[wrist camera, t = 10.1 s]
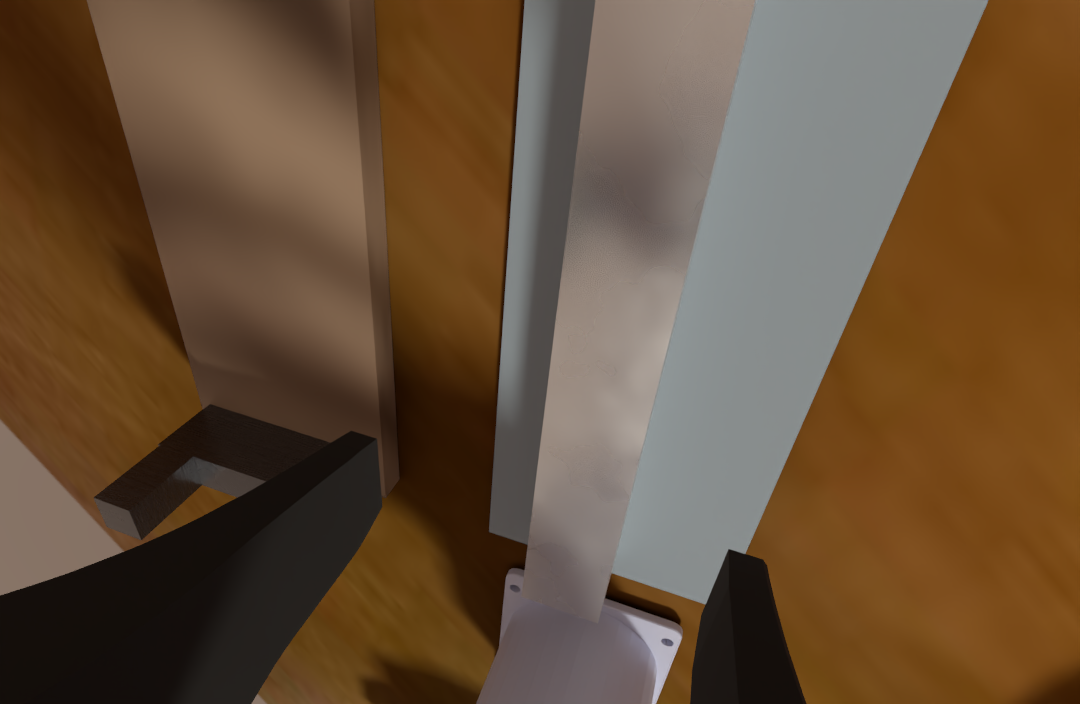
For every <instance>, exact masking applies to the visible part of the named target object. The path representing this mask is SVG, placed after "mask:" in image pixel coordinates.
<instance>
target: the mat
mask: <svg viewBox="0 0 1080 704" xmlns="http://www.w3.org/2000/svg"><path fill="white" fill-rule="evenodd" d="M987 2H988V0H758V1H757V5H756V9H755V13H754V17H753V21H752V25H751V29H750V32H749V36H748V40H747V44H746V48H745V52H744V56H743V60H742V64H741V68H740V72H739V76H738V80H737V84H736V88H735V91H734V95H733V99H732V103H731V107H730V111H729V115H728V119H727V123H726V127H725V131H724V135H723V139H722V143H721V146H720V150H719V154H718V158H717V162H716V166H715V170H714V174H713V178H712V182H711V186H710V190H709V194H708V198H707V201H706V205H705V209H704V213H703V217H702V221H701V225H700V229H699V233H698V237H697V241H696V245H695V249H694V253H693V257H692V260H691V264H690V268H689V272H688V276H687V280H686V284H685V288H684V292H683V296H682V300H681V304H680V308H679V312H678V315H677V319H676V323H675V327H674V331H673V335H672V339H671V343H670V347H669V351H668V355H667V359H666V363H665V367H664V370H663V374H662V378H661V382H660V386H659V390H658V394H657V398H656V402H655V406H654V410H653V414H652V418H651V422H650V426H649V429H648V433H647V437H646V441H645V445H644V449H643V453H642V457H641V461H640V465H639V469H638V473H637V477H636V481H635V484H634V488H633V492H632V496H631V500H630V504H629V508H628V512H627V516H626V520H625V524H624V528H623V532H622V536H621V539H620V543H619V547H618V551H617V555H616V559H615V563H614V566H613V570H612V573H613V574H616V575H619V576H622V577H625V578H628V579H631V580H634V581H637V582H640V583H643V584H646V585H649V586H652V587H655V588H658V589H661V590H664V591H667V592H670V593H673V594H676V595H679V596H682V597H685V598H688V599H691V600H694V601H697V602H700V603H703V604H706V603H707V600H708V598H709V595H710V593H711V590H712V588H713V586H714V583H715V581H716V578H717V576H718V573H719V571H720V569H721V566H722V564H723V561H724V559H725V556H726V554H727V552H728V549H731V550H734V551H737V552H740V553H743V554H745V553H746V551H747V549H748V546H749V544H750V542H751V539H752V537H753V535H754V533H755V530H756V528H757V526H758V524H759V521H760V519H761V517H762V514H763V512H764V510H765V508H766V505H767V503H768V501H769V498H770V496H771V494H772V492H773V489H774V487H775V485H776V483H777V480H778V478H779V476H780V473H781V471H782V469H783V467H784V464H785V462H786V460H787V458H788V455H789V453H790V451H791V448H792V446H793V444H794V442H795V439H796V437H797V435H798V432H799V430H800V428H801V426H802V423H803V421H804V419H805V417H806V414H807V412H808V410H809V407H810V405H811V403H812V401H813V398H814V396H815V394H816V392H817V389H818V387H819V385H820V382H821V380H822V378H823V376H824V373H825V371H826V369H827V366H828V364H829V362H830V360H831V357H832V355H833V353H834V351H835V348H836V346H837V344H838V341H839V339H840V337H841V335H842V332H843V330H844V328H845V326H846V323H847V321H848V319H849V316H850V314H851V312H852V310H853V307H854V305H855V303H856V300H857V298H858V296H859V294H860V291H861V289H862V287H863V285H864V282H865V280H866V278H867V275H868V273H869V271H870V269H871V266H872V264H873V262H874V260H875V257H876V255H877V253H878V250H879V248H880V246H881V244H882V241H883V239H884V237H885V234H886V232H887V230H888V228H889V225H890V223H891V221H892V219H893V216H894V214H895V212H896V209H897V207H898V205H899V203H900V200H901V198H902V196H903V194H904V191H905V189H906V187H907V184H908V182H909V180H910V178H911V175H912V173H913V171H914V168H915V166H916V164H917V162H918V159H919V157H920V155H921V153H922V150H923V148H924V146H925V143H926V141H927V139H928V137H929V134H930V132H931V130H932V128H933V125H934V123H935V121H936V118H937V116H938V114H939V112H940V109H941V107H942V105H943V102H944V100H945V98H946V96H947V93H948V91H949V89H950V87H951V84H952V82H953V80H954V77H955V75H956V73H957V71H958V68H959V66H960V64H961V62H962V59H963V57H964V55H965V52H966V50H967V48H968V46H969V43H970V41H971V39H972V36H973V34H974V32H975V30H976V27H977V25H978V23H979V21H980V18H981V16H982V14H983V11H984V9H985V7H986V5H987ZM594 8H595V0H525V3H524V17H523V32H522V47H521V62H520V77H519V92H518V107H517V121H516V136H515V151H514V166H513V181H512V196H511V211H510V225H509V240H508V255H507V270H506V285H505V300H504V315H503V329H502V344H501V359H500V374H499V389H498V404H497V419H496V433H495V448H494V463H493V478H492V493H491V508H490V523H489V532H491V533H494V534H497V535H500V536H503V537H506V538H509V539H512V540H515V541H518V542H521V543H524V544H527V545H528V539H529V531H530V523H531V515H532V507H533V499H534V491H535V483H536V475H537V467H538V459H539V451H540V443H541V435H542V427H543V419H544V411H545V403H546V395H547V386H548V378H549V370H550V362H551V354H552V346H553V338H554V330H555V322H556V314H557V306H558V298H559V290H560V282H561V274H562V266H563V258H564V250H565V242H566V234H567V226H568V218H569V209H570V201H571V193H572V185H573V177H574V169H575V161H576V153H577V145H578V137H579V129H580V121H581V113H582V105H583V97H584V89H585V81H586V73H587V65H588V57H589V49H590V41H591V33H592V24H593V16H594Z"/></svg>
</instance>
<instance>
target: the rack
mask: <svg viewBox="0 0 1080 704" xmlns="http://www.w3.org/2000/svg"><path fill="white" fill-rule="evenodd" d="M87 3H88V7H89V10H90V14H91V17H92V21H93V24H94V28H95V31H96V35H97V38H98V42H99V45H100V49H101V52H102V56H103V60H104V63H105V67H106V70H107V74H108V77H109V81H110V84H111V88H112V91H113V95H114V98H115V102H116V105H117V109H118V112H119V116H120V119H121V123H122V126H123V130H124V133H125V137H126V140H127V144H128V148H129V151H130V155H131V158H132V162H133V165H134V169H135V172H136V176H137V179H138V183H139V186H140V190H141V193H142V197H143V200H144V204H145V207H146V211H147V214H148V218H149V221H150V225H151V228H152V232H153V236H154V239H155V243H156V246H157V250H158V253H159V257H160V260H161V264H162V267H163V271H164V274H165V278H166V281H167V285H168V288H169V292H170V295H171V299H172V302H173V306H174V309H175V313H176V316H177V320H178V324H179V327H180V331H181V334H182V338H183V341H184V345H185V348H186V352H187V355H188V359H189V362H190V366H191V369H192V373H193V376H194V380H195V383H196V387H197V390H198V394H199V397H200V401H201V404H202V408H203V410H202V411H200V412H199V413H198V414H196V415H195V416H194V417H193V418H191V419H190V420H189V421H188V422H186V423H185V424H184V425H182V426H181V427H180V428H179V429H177V430H176V431H175V432H174V433H172V434H171V435H170V436H168V437H167V438H166V439H165V440H163V441H162V442H161V443H159V444H158V445H159V447H157V448H156V449H155V450H154V451H152V452H151V453H150V454H148V455H147V456H146V457H145V458H143V459H142V460H141V461H140V462H138V463H137V464H136V465H134V466H133V467H132V468H131V469H129V470H128V471H127V472H126V473H124V474H123V475H122V476H121V477H119V478H118V479H117V480H115V481H114V482H113V483H112V484H110V485H109V486H108V487H107V488H105V489H104V490H103V491H101V492H100V493H99V494H98V495H96V496H95V497H94V500H95V502H96V504H97V506H98V508H99V511H100V513H101V515H102V517H103V519H104V521H105V524H106V526H107V527H109V528H111V529H114V530H116V531H119V532H122V533H124V534H127V535H129V536H132V537H134V538H137V539H140V540H142V539H143V538H144V537H145V536H147V535H148V534H149V533H150V532H151V531H152V530H153V529H154V528H155V527H156V526H157V525H159V524H160V523H161V522H162V521H163V520H164V519H165V518H166V517H167V516H168V515H170V514H171V513H172V512H173V511H174V510H175V509H176V508H177V507H178V506H179V505H180V504H182V503H183V502H184V501H185V500H186V499H187V498H188V497H189V496H190V495H191V494H193V493H194V492H195V491H196V490H197V489H198V488H199V487H200V486H201V485H204V486H207V487H210V488H213V489H215V490H218V491H221V492H224V493H227V494H229V495H232V496H235V497H240V496H242V495H243V494H245V493H247V492H249V491H251V490H252V489H254V488H256V487H257V486H259V485H261V484H263V483H264V482H266V481H268V480H269V479H271V478H273V477H275V476H276V475H278V474H280V473H281V472H283V471H285V470H287V469H288V468H290V467H292V466H293V465H295V464H297V463H298V462H300V461H301V460H303V459H305V458H306V457H308V456H310V455H311V454H313V453H315V452H316V451H318V450H320V449H321V448H323V447H325V446H326V445H328V444H330V443H331V442H333V441H335V440H336V439H338V438H340V437H341V436H343V435H345V434H346V433H348V432H350V431H354V432H357V433H360V434H364V435H367V436H370V437H373V438H376V439H377V444H378V457H379V470H380V483H381V496H382V497H384V498H386V497H387V496H388V494H389V493H390V492H391V490H392V489H393V487H394V486H395V485H396V483H397V482H398V481H399V479H400V477H399V459H398V440H397V421H396V403H395V384H394V365H393V347H392V328H391V309H390V291H389V272H388V253H387V235H386V216H385V197H384V179H383V160H382V142H381V123H380V104H379V86H378V67H377V48H376V30H375V11H374V0H87Z"/></svg>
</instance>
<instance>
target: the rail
mask: <svg viewBox="0 0 1080 704" xmlns="http://www.w3.org/2000/svg"><path fill="white" fill-rule="evenodd" d="M757 1H758V0H595V8H594V16H593V24H592V33H591V41H590V49H589V57H588V65H587V73H586V81H585V89H584V97H583V105H582V113H581V121H580V129H579V137H578V145H577V153H576V161H575V169H574V177H573V185H572V193H571V201H570V209H569V218H568V226H567V234H566V242H565V250H564V258H563V266H562V274H561V282H560V290H559V298H558V306H557V314H556V322H555V330H554V338H553V346H552V354H551V362H550V370H549V378H548V386H547V395H546V403H545V411H544V419H543V427H542V435H541V443H540V451H539V459H538V467H537V475H536V483H535V491H534V499H533V507H532V515H531V523H530V531H529V539H528V547H527V555H526V563H525V572H524V580H523V588H522V596H521V597H524V598H527V599H530V600H533V601H535V602H538V603H541V604H544V605H547V606H549V607H552V608H555V609H558V610H561V611H564V612H566V613H569V614H572V615H575V616H578V617H580V618H583V619H586V620H589V621H592V622H595V623H597V624H598V621H599V618H600V614H601V610H602V607H603V603H604V599H605V596H606V592H607V588H608V585H609V581H610V577H611V574H612V570H613V566H614V563H615V559H616V555H617V551H618V547H619V543H620V539H621V536H622V532H623V528H624V524H625V520H626V516H627V512H628V508H629V504H630V500H631V496H632V492H633V488H634V484H635V481H636V477H637V473H638V469H639V465H640V461H641V457H642V453H643V449H644V445H645V441H646V437H647V433H648V429H649V426H650V422H651V418H652V414H653V410H654V406H655V402H656V398H657V394H658V390H659V386H660V382H661V378H662V374H663V370H664V367H665V363H666V359H667V355H668V351H669V347H670V343H671V339H672V335H673V331H674V327H675V323H676V319H677V315H678V312H679V308H680V304H681V300H682V296H683V292H684V288H685V284H686V280H687V276H688V272H689V268H690V264H691V260H692V257H693V253H694V249H695V245H696V241H697V237H698V233H699V229H700V225H701V221H702V217H703V213H704V209H705V205H706V201H707V198H708V194H709V190H710V186H711V182H712V178H713V174H714V170H715V166H716V162H717V158H718V154H719V150H720V146H721V143H722V139H723V135H724V131H725V127H726V123H727V119H728V115H729V111H730V107H731V103H732V99H733V95H734V91H735V88H736V84H737V80H738V76H739V72H740V68H741V64H742V60H743V56H744V52H745V48H746V44H747V40H748V36H749V32H750V29H751V25H752V21H753V17H754V13H755V9H756V5H757Z"/></svg>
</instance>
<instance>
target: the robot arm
mask: <svg viewBox="0 0 1080 704" xmlns="http://www.w3.org/2000/svg"><path fill="white" fill-rule="evenodd" d="M381 508H382V496H381V483H380V470H379V457H378V444H377V439H376V438H373V437H370V436H367V435H364V434H360V433H357V432H354V431H350V432H348V433H346V434H345V435H343V436H341V437H340V438H338V439H336V440H335V441H333V442H331V443H330V444H328V445H326V446H325V447H323V448H321V449H320V450H318V451H316V452H315V453H313V454H311V455H310V456H308V457H306V458H305V459H303V460H301V461H300V462H298V463H297V464H295V465H293V466H292V467H290V468H288V469H287V470H285V471H283V472H281V473H280V474H278V475H276V476H275V477H273V478H271V479H269V480H268V481H266V482H264V483H263V484H261V485H259V486H257V487H256V488H254V489H252V490H251V491H249V492H247V493H245V494H243V495H242V496H240V497H238V498H236V499H234V500H232V501H230V502H228V503H227V504H225V505H223V506H221V507H219V508H217V509H215V510H213V511H212V512H210V513H208V514H206V515H204V516H202V517H200V518H198V519H196V520H194V521H192V522H190V523H188V524H186V525H184V526H182V527H180V528H178V529H175V530H173V531H171V532H169V533H167V534H164V535H162V536H160V537H158V538H155V539H153V540H151V541H149V542H147V543H144V544H142V545H140V546H137V547H135V548H133V549H130V550H127V551H125V552H122V553H120V554H117V555H115V556H112V557H110V558H107V559H104V560H102V561H99V562H97V563H94V564H92V565H89V566H86V567H84V568H81V569H79V570H76V571H73V572H70V573H68V574H65V575H62V576H59V577H56V578H53V579H50V580H47V581H45V582H41V583H38V584H35V585H32V586H29V587H26V588H23V589H20V590H16V591H13V592H10V593H8V594H4V595H1V596H0V704H251V703H252V702H253V700H254V698H255V696H256V695H257V693H258V692H259V690H260V688H261V687H262V685H263V683H264V682H265V680H266V679H267V677H268V675H269V674H270V672H271V670H272V669H273V667H274V665H275V664H276V662H277V661H278V659H279V658H280V656H281V655H282V653H283V652H284V650H285V649H286V647H287V646H288V644H289V643H290V642H291V640H292V639H293V637H294V636H295V635H296V633H297V632H298V631H299V629H300V628H301V627H302V625H303V624H304V623H305V621H306V620H307V619H308V617H309V616H310V615H311V613H312V612H313V610H314V609H315V608H316V606H317V605H318V604H319V602H320V601H321V600H322V598H323V597H324V596H325V594H326V593H327V592H328V590H329V589H330V588H331V586H332V585H333V584H334V582H335V581H336V579H337V578H338V577H339V575H340V574H341V573H342V571H343V570H344V568H345V567H346V566H347V564H348V563H349V562H350V560H351V559H352V557H353V556H354V555H355V553H356V552H357V550H358V549H359V547H360V545H361V544H362V542H363V540H364V539H365V537H366V535H367V533H368V532H369V530H370V528H371V526H372V524H373V523H374V521H375V519H376V517H377V515H378V513H379V512H380V510H381ZM524 572H525V570H522V569H518V568H511V569H510V570H509V571H508V573H507V576H506V580H505V590H504V600H503V611H502V621H501V631H500V641H499V649H498V651H497V654H496V656H495V658H494V661H493V663H492V666H491V668H490V671H489V673H488V676H487V678H486V681H485V683H484V685H483V688H482V690H481V693H480V695H479V698H478V700H477V703H476V704H656V702H657V700H658V697H659V695H660V692H661V690H662V687H663V685H664V682H665V680H666V677H667V675H668V672H669V670H670V667H671V664H672V662H673V659H674V657H675V654H676V652H677V649H678V647H679V644H680V642H681V639H682V633H683V630H682V628H681V626H679V625H678V624H677V623H675V622H673V621H670V620H667V619H664V618H661V617H658V616H655V615H652V614H649V613H647V612H644V611H641V610H638V609H635V608H632V607H629V606H626V605H623V604H620V603H618V602H615V601H612V600H609V599H606V598H605V599H604V603H603V607H602V610H601V614H600V618H599V621H598V624H597V623H595V622H592V621H589V620H586V619H583V618H580V617H578V616H575V615H572V614H569V613H566V612H564V611H561V610H558V609H555V608H552V607H549V606H547V605H544V604H541V603H538V602H535V601H533V600H530V599H527V598H524V597H521V596H522V588H523V580H524ZM690 704H806V701H805V699H804V696H803V693H802V690H801V687H800V684H799V681H798V678H797V675H796V672H795V669H794V666H793V663H792V660H791V657H790V654H789V650H788V647H787V644H786V641H785V637H784V634H783V630H782V627H781V623H780V619H779V616H778V612H777V608H776V604H775V600H774V596H773V592H772V588H771V583H770V579H769V574H768V568H767V565H766V564H765V562H764V561H763V560H762V559H759V558H756V557H753V556H750V555H746V554H743V553H740V552H737V551H734V550H731V549H728V552H727V554H726V556H725V559H724V561H723V564H722V566H721V569H720V571H719V573H718V576H717V578H716V581H715V583H714V586H713V588H712V590H711V593H710V595H709V598H708V600H707V603H706V605H705V607H704V610H703V612H702V615H701V621H700V627H699V633H698V638H697V644H696V651H695V657H694V663H693V669H692V685H691V701H690Z"/></svg>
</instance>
